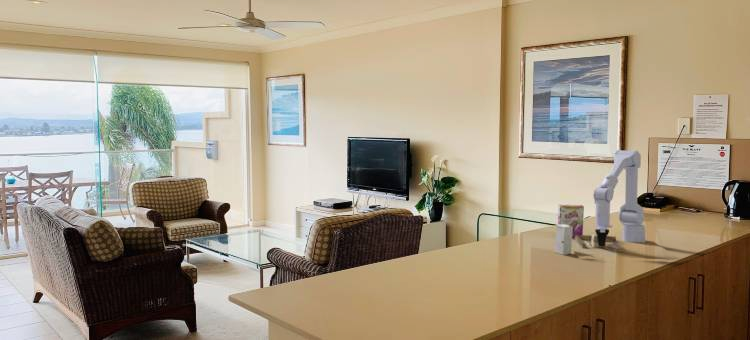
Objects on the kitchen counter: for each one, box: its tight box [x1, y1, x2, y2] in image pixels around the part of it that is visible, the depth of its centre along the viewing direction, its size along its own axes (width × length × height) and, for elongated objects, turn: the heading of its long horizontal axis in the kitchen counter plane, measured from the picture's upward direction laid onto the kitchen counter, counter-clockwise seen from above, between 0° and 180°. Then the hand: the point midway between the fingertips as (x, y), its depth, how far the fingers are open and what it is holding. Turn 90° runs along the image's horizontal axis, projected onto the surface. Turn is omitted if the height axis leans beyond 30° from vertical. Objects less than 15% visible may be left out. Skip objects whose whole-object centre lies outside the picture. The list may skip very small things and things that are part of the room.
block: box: [591, 233, 607, 248], centre depth 260 cm, size 5×5×5 cm
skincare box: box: [554, 224, 573, 256], centre depth 251 cm, size 6×4×12 cm
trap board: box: [574, 234, 626, 251], centre depth 265 cm, size 18×20×3 cm
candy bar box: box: [557, 203, 585, 238], centre depth 284 cm, size 11×5×16 cm, turn 84°
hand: (601, 246), depth 256 cm, fingers closed
